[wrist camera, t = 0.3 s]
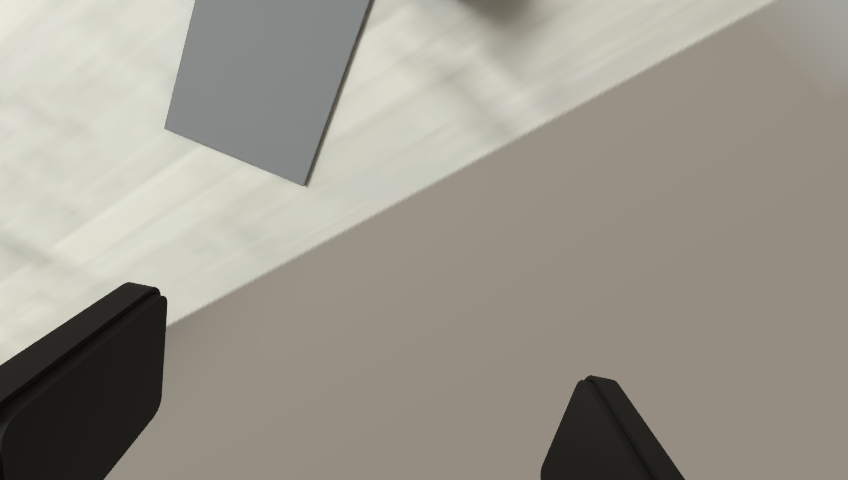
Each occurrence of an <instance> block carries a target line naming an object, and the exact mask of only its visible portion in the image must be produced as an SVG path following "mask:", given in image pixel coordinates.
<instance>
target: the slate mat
mask: <svg viewBox="0 0 848 480" xmlns="http://www.w3.org/2000/svg"><path fill="white" fill-rule="evenodd" d="M370 1H371V0H195V4H194V8H193V12H192V16H191V21H190V25H189V29H188V33H187V37H186V41H185V45H184V49H183V53H182V57H181V62H180V66H179V70H178V74H177V78H176V82H175V86H174V90H173V94H172V99H171V103H170V107H169V111H168V115H167V119H166V123H165V127H164V129H166V130H169V131H171V132H174V133H176V134H178V135H181V136H183V137H186V138H188V139H191V140H193V141H195V142H198V143H200V144H203V145H205V146H208V147H210V148H212V149H215V150H217V151H220V152H222V153H225V154H227V155H229V156H232V157H234V158H237V159H239V160H242V161H244V162H246V163H249V164H251V165H254V166H256V167H259V168H261V169H263V170H266V171H268V172H271V173H273V174H276V175H278V176H280V177H283V178H285V179H288V180H290V181H293V182H295V183H297V184H300V185H302V186H304V185H305V183H306V180H307V177H308V174H309V171H310V169H311V166H312V163H313V160H314V157H315V155H316V152H317V149H318V146H319V143H320V141H321V138H322V135H323V132H324V129H325V127H326V124H327V121H328V118H329V115H330V113H331V110H332V107H333V104H334V101H335V99H336V96H337V93H338V90H339V87H340V85H341V82H342V79H343V76H344V73H345V71H346V68H347V65H348V62H349V59H350V57H351V54H352V51H353V48H354V45H355V43H356V40H357V37H358V34H359V31H360V29H361V26H362V23H363V20H364V17H365V15H366V12H367V9H368V6H369V3H370Z"/></svg>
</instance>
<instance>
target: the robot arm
mask: <svg viewBox="0 0 848 480" xmlns="http://www.w3.org/2000/svg"><path fill="white" fill-rule="evenodd" d="M166 316H167V299H166V297H165V296H161V295H160V291H159V289H158V288H156V287H151V286H146V285H141V284H136V283H131V282H127V283H125V284H123V285H121V286H120V287H118V288H117V289H115V290H114V291H112V292H111V293H109V294H108V295H106V296H105V297H103V298H102V299H100V300H99V301H97V302H96V303H94V304H93V305H91V306H90V307H88V308H87V309H85V310H83V311H82V312H80V313H79V314H77V315H76V316H74V317H73V318H71V319H70V320H68V321H67V322H65V323H64V324H62V325H61V326H59V327H58V328H56V329H55V330H53V331H52V332H50V333H49V334H47V335H46V336H44V337H43V338H41V339H40V340H38V341H37V342H35V343H34V344H32V345H31V346H29V347H28V348H26V349H25V350H23V351H22V352H20V353H18V354H17V355H15V356H14V357H12V358H11V359H9V360H8V361H6V362H5V363H3V364H2V365H0V480H104V478H105V477H106V476H107V475H108V473H109V472H110V471H111V470H112V468H113V467H114V466H115V465H116V463H117V462H118V461H119V460H120V458H121V457H122V456H123V455H124V453H125V452H126V451H127V450H128V448H129V447H130V446H131V445H132V443H133V442H134V441H135V440H136V438H137V437H138V436H139V435H140V433H141V432H142V431H143V430H144V428H145V427H146V426H147V425H148V423H149V422H150V421H151V420H152V419H153V417H154V416H155V414H156V412H157V411H158V408H159V406H160V402H161V397H162V381H163V364H164V348H165V332H166ZM541 480H685V479H684V478H683V476H682V475H681V473H680V472H679V470H678V469H677V468H676V466H675V465H674V463H673V462H672V460H671V459H670V457H669V456H668V455H667V453H666V452H665V450H664V449H663V448H662V446H661V445H660V443H659V442H658V440H657V439H656V438H655V436H654V435H653V433H652V432H651V430H650V429H649V427H648V426H647V424H646V423H645V422H644V420H643V419H642V417H641V416H640V414H639V413H638V412H637V410H636V409H635V407H634V406H633V405H632V403H631V401H630V400H629V399H628V397H627V396H626V394H625V393H624V391H623V390H622V389H621V387H620V386H619V384H618V383H617V382H616V381H614V380H611V379H606V378H601V377H596V376H592V375H591V376H588V377H587V378H586V379H585V380H581V381H579V382H578V384H577V385H576V388H575V390H574V392H573V394H572V397H571V399H570V402H569V404H568V406H567V409H566V411H565V413H564V416H563V418H562V420H561V423H560V426H559V427H558V430H557V432H556V435H555V437H554V439H553V442H552V444H551V446H550V449H549V451H548V454H547V456H546V458H545V460H544V463H543V465H542V469H541Z"/></svg>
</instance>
